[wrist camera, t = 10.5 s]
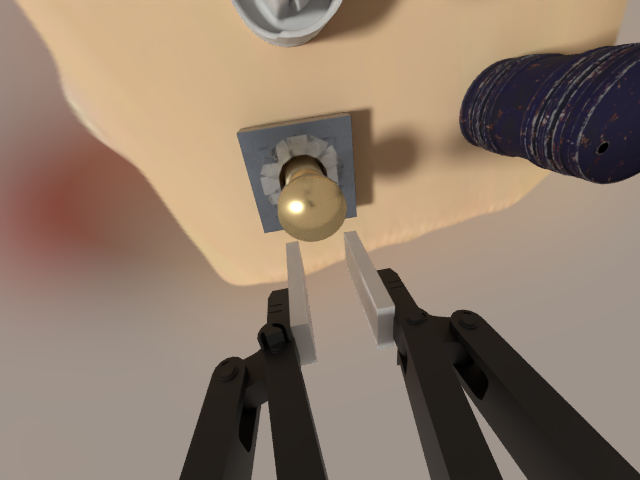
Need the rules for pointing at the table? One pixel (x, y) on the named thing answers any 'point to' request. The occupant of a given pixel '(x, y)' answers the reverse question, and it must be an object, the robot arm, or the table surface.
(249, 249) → the table surface
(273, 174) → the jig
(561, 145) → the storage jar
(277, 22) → the engine component
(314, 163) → the brass flared knob
